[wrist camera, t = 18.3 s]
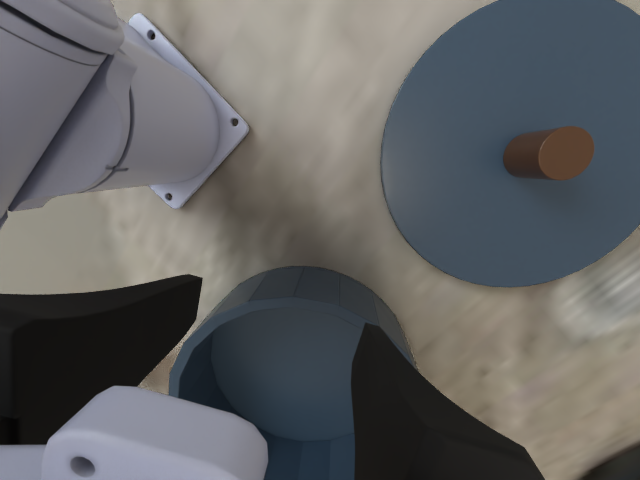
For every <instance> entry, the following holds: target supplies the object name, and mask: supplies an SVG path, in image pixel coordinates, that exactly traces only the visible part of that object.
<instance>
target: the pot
mask: <svg viewBox="0 0 640 480" xmlns="http://www.w3.org/2000/svg"><path fill="white" fill-rule="evenodd" d="M365 322H366V323H369V324H373V325H377V326H380V327H381V329H382V330H383V331H384V332H385V333H386V335H387V336H388V337H389V338H390V340H391V341H392V342H393V343H394V345H395V346H396V347H397V348H398V350H399V351H400V352H401V353H402V354H403V356H404V357H405V358H406V359H407V360H408V361H409V362H410V363H411V365H412V366H413V367H414V368H415V369H416V370H417V371H418V369H417V366H416V364H415V361H414V358H413V356H412V353H411V350H410V347H409V345H408V342H407V340H406V338H405V336H404V334H403V331H402V329H401V327H400V325H399V323H398V321H397V318H396V316H395V315H394V313H393V312H392V311H391V310H390V309H389V307H388V306H387V305H386V304H385V303H384V302H383V300H382V299H381V298H379V297H378V296H377V295H376V294H375V293H374V292H373V291H372V290H370V289H369V288H367V287H366V286H364V285H363V284H361V283H360V282H358V281H356V280H354V279H352V278H350V277H348V276H346V275H343V274H340V273H338V272H335V271H331V270H327V269H323V268H317V267H308V266H292V267H284V268H277V269H273V270H270V271H266V272H263V273H261V274H258V275H256V276H254V277H251V278H250V279H248V280H246V281H245V282H243V283H241V284H239V285H238V286H237V287H236V288H235V289H234V290H232V291H231V292H230V293H229V294H228V295H227V296H226V297H225V298H224V299H223V300H222V301H221V302H220V303H219V304H218V305H217V306H216V307H215V308H214V309H213V310H212V312H211V313H210V314H209V315H208V316H207V317H206V318H205V320H204V321H203V322H202V323H201V324H200V325H199V326H198V327H197V329H196V330H195V331H194V332H193V333H192V334H191V335H190V336H189V338H188V339H187V340H186V341H185V342H184V344H183V346H182V348H181V350H180V352H179V354H178V357H177V359H176V361H175V363H174V365H173V367H172V369H171V372H170V376H169V396H172V397H176V398H179V399H183V400H187V401H190V402H194V403H197V404H201V405H204V406H208V407H211V408H215V409H219V410H222V411H226V412H229V413H233V414H235V415H237V416H239V417H241V418H243V419H245V420H247V421H249V422H251V423H252V424H254V425H255V427H256V428H257V429H258V431H259V432H260V434H261V435H262V436H263V438H264V439H265V440H266V442H267V449H268V464H267V468H266V472H265V476H264V480H354V471H355V435H354V422H353V409H352V396H351V370H352V361H353V358H354V355H355V352H356V349H357V346H358V343H359V340H360V337H361V334H362V331H363V328H364V325H365Z"/></svg>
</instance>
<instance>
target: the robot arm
mask: <svg viewBox="0 0 640 480" xmlns="http://www.w3.org/2000/svg"><path fill="white" fill-rule="evenodd" d="M153 33H155V39H154V40H152V39H151V36H152V34H153ZM234 119H237V120H238V125H237V126H234V125H233V120H234ZM248 132H249V126H248V124H247V123H246V122H245V120H244V119H243V118H242V117H241V116H240V115H239V114H238V113H237V112H236V111H235V110H234V109H233V108H232V107H231V106H230V105H229V104H228V103H227V102H226V100H225V99H224V98H223V97H222V96H221V95H220V94H219V93H218V92H217V91H216V90H215V89H214V88H213V87H212V86H211V85H210V84H209V83H208V82H207V80H206V79H205V78H204V77H203V76H202V75H201V74H200V73H199V72H198V71H197V70H196V69H195V68H194V67H193V66H192V65H191V64H190V63H189V61H188V60H187V59H186V58H185V57H184V56H183V55H182V54H181V53H180V52H179V51H178V50H177V49H176V48H175V47H174V46H173V45H172V44H171V43H170V41H169V40H168V39H167V38H166V37H165V36H164V35H163V34H162V33H161V32H160V31H159V30H158V29H157V28H156V27H155V26H154V25H153V24H152V23H151V21H150V20H149V19H148V18H147V17H145V16H144V15H143V14H141V13H136V14H134V15H133V16H132V18H131V19H130V21H129V22H128V24H127V23H126V22H124V21H123V20H121V19H120V18H118V17H117V16H116V13H115V10H114V6H113V4H112V3H111V1H110V0H0V230H1V228H2V226H3V224H4V223H5V221H6V219H7V218H8V215H7V208H9V209H8V210H9V211H19V210H26V209H33V208H40V207H43V206H44V205H45V204H46V202H47V201H49V200H50V199H52V198H54V197H56V196H60V195H67V194H75V193H84V192H94V191H103V190H112V189H121V188H130V187H139V186H149V187H150V188H151V189H152V190H153V191H154V192H155V193H156V194H157V195H158V196H159V197H160V198H161V199H162V200H164V201H165V202H166V203H167V204H168V205H169V206H170V207H171V208H173V209H179V208H181V207H182V206H183V205H184V204H185V203H186V202H187V201H188V200H189V198H190V197H191V196H192V195H193V194H194V193H195V192H196V191H197V190H198V188H199V187H200V186H201V185H202V184H203V183H204V182H205V181H206V180H207V178H208V177H209V176H210V175H211V174H212V173H213V172H214V171H215V170H216V168H217V167H218V166H219V165H220V164H221V163H222V162H223V161H224V160H225V158H226V157H227V156H228V155H229V154H230V153H231V152H232V151H233V150H234V148H235V147H236V146H237V145H238V144H239V143H240V142H241V141H242V140H243V138H244V137H245V136H246V135H247V134H248ZM169 193H170V194H171V195H172V200H171V199H169V197H168V195H169ZM202 279H203V278H201V277H197V276H193V275H190V274H188V275H180V276H175V277H171V278H166V279H162V280H158V281H153V282H149V283H144V284H139V285H134V286H129V287H124V288H118V289H112V290H104V291H96V292H86V293H70V294H51V295H21V294H0V480H264V476H265V472H266V468H267V464H268V449H267V442H266V440H265V439H264V438H263V436H262V435H261V434H260V432H259V431H258V429H257V428H256V427H255V425H254V424H252V423H251V422H249V421H247V420H245V419H243V418H241V417H239V416H237V415H235V414H233V413H229V412H226V411H222V410H219V409H215V408H211V407H208V406H204V405H201V404H197V403H194V402H190V401H187V400H183V399H179V398H176V397H172V396H169V395H165V394H162V393H158V392H154V391H151V390H147V389H144V388H140V387H137V386H138V385H139V384H140V383H141V382H142V380H143V379H144V378H145V377H146V376H147V375H148V374H149V373H150V372H151V371H152V370H153V369H154V368H155V367H156V366H157V365H158V364H159V363H160V362H161V361H162V359H163V358H164V357H165V356H166V355H167V354H168V353H169V352H170V351H171V350H172V349H173V348H174V347H175V346H176V345H177V344H178V343H179V342H180V341H181V339H182V338H183V337H184V336H185V334H186V333H187V332H188V330H189V329H190V328H191V326H192V325H193V323H194V322H195V320H196V316H197V310H198V304H199V298H200V292H201V286H202ZM351 396H352V409H353V422H354V435H355V471H354V480H545V479H544V477H543V476H542V474H541V472H540V471H539V469H538V468H537V466H536V465H535V463H534V461H533V460H532V458H531V457H530V455H529V454H528V452H527V451H526V449H525V448H524V447H523V446H521V445H519V444H517V443H516V442H514V441H512V440H510V439H509V438H507V437H505V436H503V435H502V434H500V433H498V432H496V431H495V430H493V429H491V428H490V427H488V426H486V425H485V424H483V423H482V422H480V421H479V420H477V419H476V418H474V417H473V416H471V415H470V414H468V413H467V412H466V411H464V410H463V409H461V408H460V407H459V406H457V405H456V404H455V403H453V402H452V401H451V400H450V399H448V398H447V397H446V396H444V395H443V394H442V393H441V392H440V391H438V390H437V389H436V388H435V387H434V386H433V385H432V384H431V383H430V382H428V381H427V380H426V379H425V378H424V377H423V376H422V375H421V374H420V373H419V372H418V371H417V370H416V369H415V368H414V367H413V366H412V365H411V363H410V362H409V361H408V360H407V359H406V358H405V357H404V356H403V354H402V353H401V352H400V351H399V350H398V348H397V347H396V346H395V345H394V343H393V342H392V341H391V340H390V338H389V337H388V336H387V335H386V333H385V332H384V331H383V330H382V329H381V327H380V326H377V325H373V324H369V323H366V322H365V325H364V328H363V331H362V334H361V337H360V340H359V343H358V346H357V349H356V352H355V355H354V358H353V361H352V370H351Z"/></svg>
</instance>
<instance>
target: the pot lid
mask: <svg viewBox="0 0 640 480" xmlns="http://www.w3.org/2000/svg"><path fill="white" fill-rule="evenodd" d="M380 165H381V180H382V186H383V191H384V196H385V199H386V202H387V205H388V208H389V211H390V214H391V216H392V218H393V220H394V222H395V224H396V226H397V228H398V229H399V231H400V232H401V233H402V235H403V236H404V238H405V239H406V241H407V242H408V243H409V244H410V245H411V246H412V247H413V248H414V249H415V251H416V252H417V253H418V254H419V255H421V256H422V257H423V258H424V259H425V260H427V261H428V262H429V263H430V264H432V265H433V266H435V267H437V268H438V269H440V270H441V271H443V272H445V273H447V274H449V275H451V276H454V277H456V278H458V279H461V280H464V281H468V282H471V283H474V284H479V285H486V286H492V287H521V286H530V285H535V284H541V283H546V282H549V281H552V280H556V279H559V278H562V277H565V276H567V275H569V274H572V273H574V272H577V271H579V270H581V269H583V268H585V267H586V266H588V265H590V264H592V263H594V262H596V261H597V260H599V259H600V258H602V257H603V256H604V255H606V254H607V253H609V252H610V251H612V250H613V249H614V248H615V247H617V246H618V245H619V244H620V243H621V242H622V241H624V240H625V239H626V238H627V237H628V236H629V235H630V234H631V233H632V232H633V231H634V230H635V229H636V228H637V227H638V226H639V225H640V16H639V15H638V14H637V13H635V12H634V11H633V10H631V9H630V8H628V7H627V6H625V5H623V4H621V3H619V2H617V1H615V0H498V1H496V2H493V3H491V4H489V5H487V6H485V7H482V8H480V9H478V10H477V11H475V12H473V13H472V14H470V15H469V16H467V17H465V18H464V19H462V20H460V21H459V22H458V23H456V24H455V25H454V26H453V27H451V28H450V29H449V30H448V31H446V32H445V33H444V34H443V35H441V36H440V37H439V38H438V39H437V40H436V41H435V43H434V44H433V45H432V46H431V47H430V48H429V49H428V50H427V51H426V52H425V53H424V54H423V55H422V57H421V58H420V59H419V61H418V62H417V63H416V64H415V66H414V67H413V68H412V70H411V71H410V73H409V74H408V76H407V78H406V79H405V81H404V82H403V84H402V86H401V87H400V89H399V91H398V94H397V96H396V98H395V100H394V102H393V104H392V107H391V109H390V113H389V116H388V119H387V122H386V125H385V129H384V135H383V140H382V146H381V161H380Z"/></svg>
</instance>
